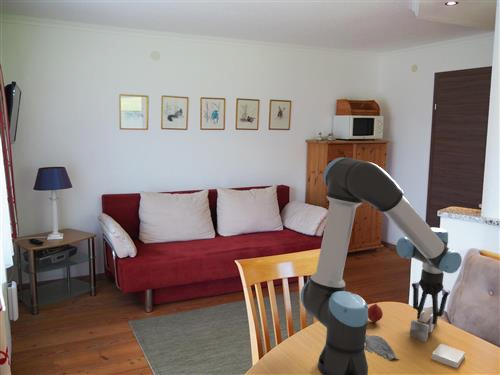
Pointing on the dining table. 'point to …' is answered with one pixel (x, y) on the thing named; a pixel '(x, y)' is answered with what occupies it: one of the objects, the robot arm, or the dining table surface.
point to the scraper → (421, 325)
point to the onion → (374, 313)
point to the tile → (448, 355)
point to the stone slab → (379, 347)
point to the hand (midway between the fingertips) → (425, 329)
